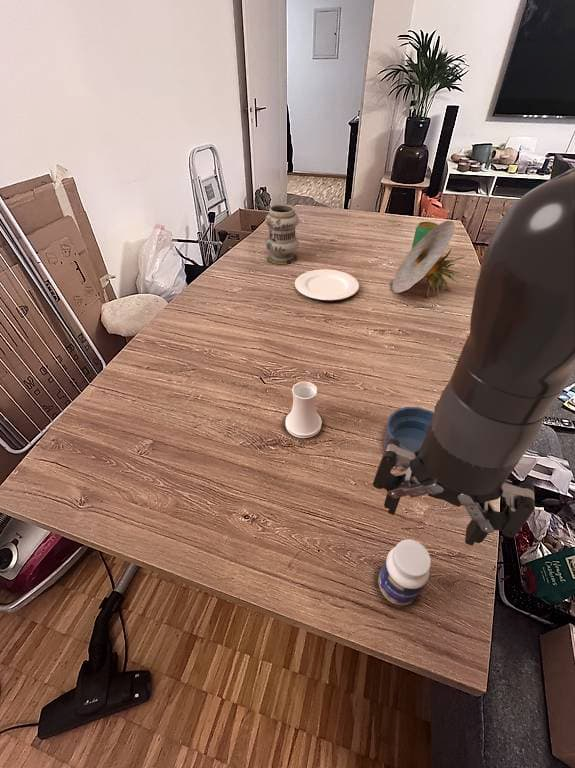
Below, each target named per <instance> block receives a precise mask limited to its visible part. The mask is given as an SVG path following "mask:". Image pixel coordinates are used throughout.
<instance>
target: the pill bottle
mask: <svg viewBox="0 0 575 768" xmlns="http://www.w3.org/2000/svg"><path fill="white" fill-rule="evenodd" d="M431 566H432V559H431V555H430V553H429V552H428V549H427V548H426V547H425V546H424V545H423V544H422V543H420V541H417V540H414V539H403V540H400V541H399V542H397V544H396V545H395V546H394V547H392V548H391V549H390V550H389V552H388V554H387V555H386V558H385V560H384V562H383V564H382V567H381V568H380V571H379V574H378V580H377V581H378V582H377V583H378V586H379V590H380V592H381V594H382V595H383V596H384V598H386V600H387V601H389V602H390V603H392V604H394V605H396V606H397V605H398V606H407V605H410V604H411V603H413V602H414V601H415V600H416V598H417V597H418V595H419V594H420V592H421V591H422V589H423V588H424V586H426V583H427V582H428V579H429V576H430V568H431Z"/></svg>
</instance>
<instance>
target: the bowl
mask: <svg viewBox="0 0 575 768" xmlns="http://www.w3.org/2000/svg"><path fill="white" fill-rule="evenodd" d="M434 412H435V411H432V410H429V409H426V408H423V407H419V406H405V407H401V408H398V409H396V410H394V411H393V412H392V413H391V414H390V415H389V416H388V417H387V418H388V419H387V422H386V425H385V427H384V432H383V436H382V441H383V442H382V443H383V448H384V450H385V449H386V446H387V444H388V441H389V440H390V439H396V440H398V441H399V442H400V447H399V448H402V449H405V450H407V451H410V452H413V453H414V452H415V451H417V450H418V449H420V448H421V446H422V443H423V441H424V438H425V435H426V433H427V430H428V428H429V425H430V422H431V420H432V417H433V415H434ZM409 466H410V465H409V464H403V465H402V466H401V467H405V468H408V467H409Z"/></svg>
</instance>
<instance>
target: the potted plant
mask: <svg viewBox="0 0 575 768" xmlns="http://www.w3.org/2000/svg"><path fill="white" fill-rule="evenodd" d="M455 227H456V226H455V222H454V221H453V220H445V221H443V222H441V223H439V224H438V225H437V226H436V227H434V228H433V229H432V230H431V231H429V232H428V233H427V234H426V235H425V236H424V237H423V238H422V239H421V240H420V241H419V242H418V243H417V244H416V245H415V246H414V248H413V249H412V248H411V249H412V250H411V249H410V251H409V253H407V255H406V256H405V258H403V261H402V262H401V264H400V265H399V267H398V268H397V271H396V273H395V276H394V278H393V280H392V285H391V286H392V287H391V289H392V291H393V292H394V293H397V294H398V293H399V294H400V293H402V292H405V291H408V290H409V289H410V288H412V287H413V286H414V285H416V283H418V282H420V281H421V280H422V279H424V277H425V279H426V280H425V283H426V284H427V285H426V298H428V296H429V294H430V289H432V290H433V292H434V293H436V292H437V296H438V298H441V295H440V292H439V291H440V287H441V289H442V290H444V285H445V287H446V289H447V290H449V286H448V285H449V282H447V281H446V280H445V279H444V278H443V276H445V277H447V278H448V279H450V280H452V281H454V282H456V283H457V284H459V283H460V282H459V280H456V279H455V278H453V276H456V277H459V278H461V274H462V272H459V271H456V270H454V269H450V267H452V266H455V265H456V264H455V263H454V262H456V261H459V260H461V259H464V258H465V256H461V257H458V258H455V259H452V258H450V259H447V258H449V256H450V254H451V252H452V249H450V250H449V251H448V252H447V253H446V254H445V255H444V256H442V255H443V254H444V253H445V251H446V250H447V248H448V246H449V244H450V242H451V241H452V239H453V236H454V233H455ZM440 283H441V284H440Z"/></svg>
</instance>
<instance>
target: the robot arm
mask: <svg viewBox="0 0 575 768" xmlns="http://www.w3.org/2000/svg"><path fill="white" fill-rule="evenodd" d="M469 325H470V326H469V334H468V336H467V338H466V340H465V342H464V344H463V347H462V349H461V352H460V354H459V357H458V358H457V359H458V360H457V362H456V365H455V366H454V370H453V372H452V375H451V377H450V379H449V381H448V382H447V384H446V386H445V387H444V389H443V390H442V392H441V395H440V396H439V399H438V400H437V402H436V404H435V406H434V410H433V412H434V415H433V417H432V420H431V422H430V425H429V428H428V430H427V433H426V435H425V438H424V441H423V443H422V446H421V448H420V449H418V450H417V451H415V452H414V453H413V452H410V451H407V450H405V449H402V448H399V447H400V442H399V441H398V440H396V439H390V440H389V441H388V444H387V446H386V449H385V448H384V451H383V454H382V456H381V460H380V461H379V464H378V467H377V470H376V472H375V476H374V478H373V482H372V486H373V487H374V488H375V489H378V490H383V489H384V490H385V491H386V492H387V493H386V497H385V499H384V504H383V506H384V508H385V509H388V511H387V514H389V515H391V516H395V513H396V511H397V508H398V506H399V503H400V502H401V501H400V500H401V498H403V497H407V496H408V497H409V498H410V499H414V498H417V497H421V496H426V495H427V496H428V497H430V498H433V499H437V500H441V501H444V502H446V503H448V504H450V505H453V506H455V507H458V508H460V507H461V506H463V507H464V508H465V510H466V511H467V514H468V515H469V517H470V518H471V519H470V521H469V523H468V524H467V526H466V529H465V535H464V536H465V537H464V544H465V545H469V546H471V547H473V546H474V544H475V543H476V544H481V543H483V541H484V540H485V539H486V537H487V536H488V535H489V534H493V533H494V532H495V531H498V532H501V533H502V535H503V536H505V537H507V538H516V536H517V535H518V534H519V532H520V531H521V530H522V528H523V527H524V526H525V524H526V522H527V521H528V520H529V518H530V517H531V515H532V514H533V513H534V511H535V510H536V509H535V486H534V484H532V482H528V481H523V482H519V483H518V485H514V484H510V483H507V482H506V481H507V480H508V478H509V476H510V475H511V474H512V472H513V471H514V470H515V468H516V466H517V465H518V464H519V462H520V461H521V459H522V458H523V457H524V455H525V453H527V451H528V450H529V448H530V446H532V444H533V442H534V440H535V439H536V437H537V436H538V434H539V432H540V429H541V427H542V425H543V422H544V420H545V418H546V416H547V415H548V413H550V410H551V409H552V408H553V406H554V405H555V404H556V402H557V400H558V399H559V397H560V396H561V394H562V393H563V392H564V390H565V388H566V387H567V385H568V384H569V382H570V380H571V379H572V378H573V375H574V374H575V167H573V168H571V169H568V170H566V171H565V172H562V173H561V174H559V175H557V176H555V177H553V178H551V179H549V180H547V181H545V182H543V183H541V184H539V185H537V186H536V187H534V188H533V189H531V190H530V191H528V192H527V193H525V194H524V195H522V196H521V197H520V198H519V199H518V200H517V201H516V202H515V203H514V204H513V205H512V206H511V207H510V208H509V209H508V211H507V212H506V213H505V215H504V216H503V217H502V219H501V220H500V222H499V223H498V225H497V227H496V228H495V230H494V232H493V234H492V235H491V238H490V241H489V243H488V245H487V247H486V249H485V253H484V255H483V257H482V260H481V263H480V266H479V270H478V273H477V278H476V284H475V291H474V294H473V302H472V309H471V314H470V324H469ZM403 464H409V465H410V466H409V467H407V469H405V470H402V471H400V472H397V473H394V474H393V473H392V470H393V471H397V470H398V468H400V467H403V466H402V465H403ZM501 497H502V498H504V499H505V504H506V505H505V507H504V508H503V510H502V511H496V509H495V507H494V505H493V504H492V501H497V500H498V499H501Z"/></svg>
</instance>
